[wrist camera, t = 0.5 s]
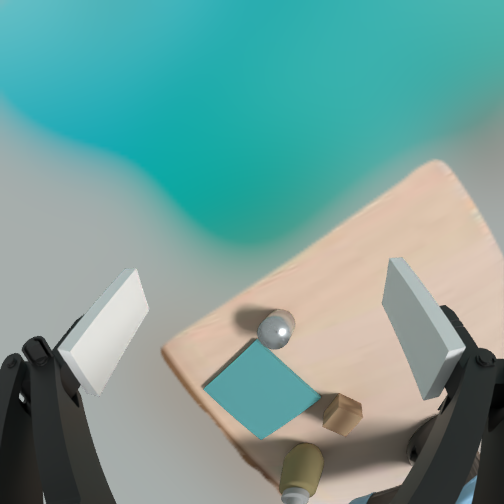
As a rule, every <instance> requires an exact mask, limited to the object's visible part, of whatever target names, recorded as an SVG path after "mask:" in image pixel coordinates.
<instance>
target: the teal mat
mask: <svg viewBox="0 0 504 504" xmlns="http://www.w3.org/2000/svg"><path fill="white" fill-rule="evenodd" d="M204 390H205V391H206V392H207V393H208V394H209V395H210V396H211V397H212V398H213V399H214V400H215V401H216V402H217V403H219V404H220V405H221V406H222V407H223V408H224V409H225V410H226V411H227V412H228V413H230V414H231V415H232V416H233V417H234V418H235V419H236V420H238V421H239V422H240V423H241V424H242V425H243V426H245V427H246V428H247V429H248V430H249V431H251V432H252V433H253V434H254V435H256V436H257V437H258V438H259V439H260V440H262V439H263V438H265V437H267V436H268V435H270V434H271V433H273V432H274V431H276V430H277V429H279V428H280V427H282V426H283V425H285V424H286V423H288V422H289V421H291V420H292V419H293V418H295V417H296V416H298V415H299V414H301V413H302V412H303V411H305V410H306V409H307V408H309V407H310V406H311V405H313V404H314V403H315V402H317V401H318V400H319V399H320V397H321V396H320V395H319V394H318V393H317V392H315V391H314V390H313V389H312V388H311V387H310V386H309V385H307V384H306V383H305V382H304V381H303V380H302V379H301V378H300V377H298V376H297V375H296V374H295V373H294V372H293V371H292V370H291V369H290V368H288V367H287V366H286V365H285V364H284V363H283V362H282V361H281V360H280V359H279V358H278V357H276V356H275V355H274V354H273V353H272V352H271V351H270V350H269V349H268V348H267V347H265V346H263V345H262V344H261V342H260V341H259V340H258V339H256V340H255V341H254V342H253V343H252V344H251V345H250V346H249V347H248V348H247V349H246V350H245V351H244V352H243V353H242V354H241V355H240V356H239V357H238V358H237V359H235V360H234V361H233V362H232V363H231V364H230V365H229V366H228V367H227V368H226V369H225V370H224V371H223V372H221V373H220V374H219V375H218V376H217V377H216V378H215V379H214V380H213V381H211V382H210V383H209V384H208V385H207V386H206V387H205V388H204Z"/></svg>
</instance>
